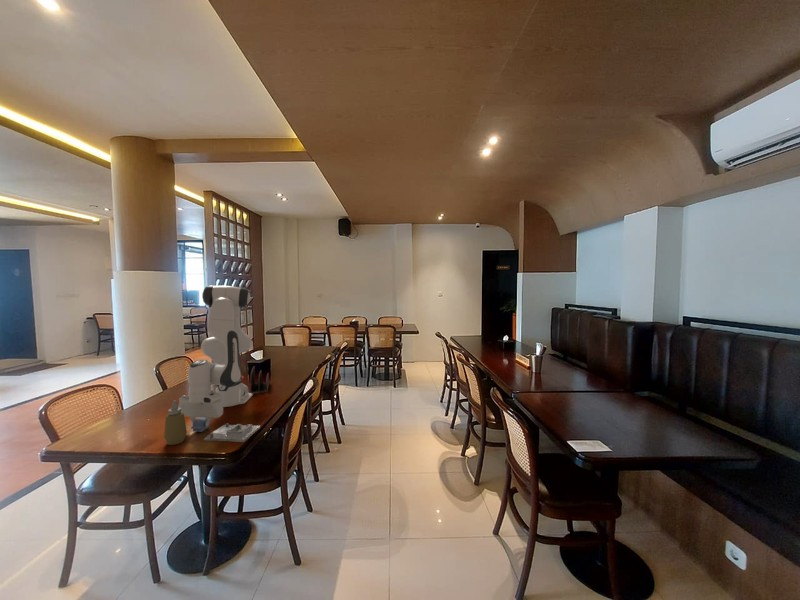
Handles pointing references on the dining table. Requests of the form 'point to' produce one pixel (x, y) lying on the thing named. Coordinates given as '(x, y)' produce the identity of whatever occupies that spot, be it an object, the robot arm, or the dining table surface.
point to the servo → (199, 424)
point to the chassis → (232, 433)
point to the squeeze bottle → (175, 425)
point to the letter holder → (258, 386)
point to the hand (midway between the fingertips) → (201, 425)
